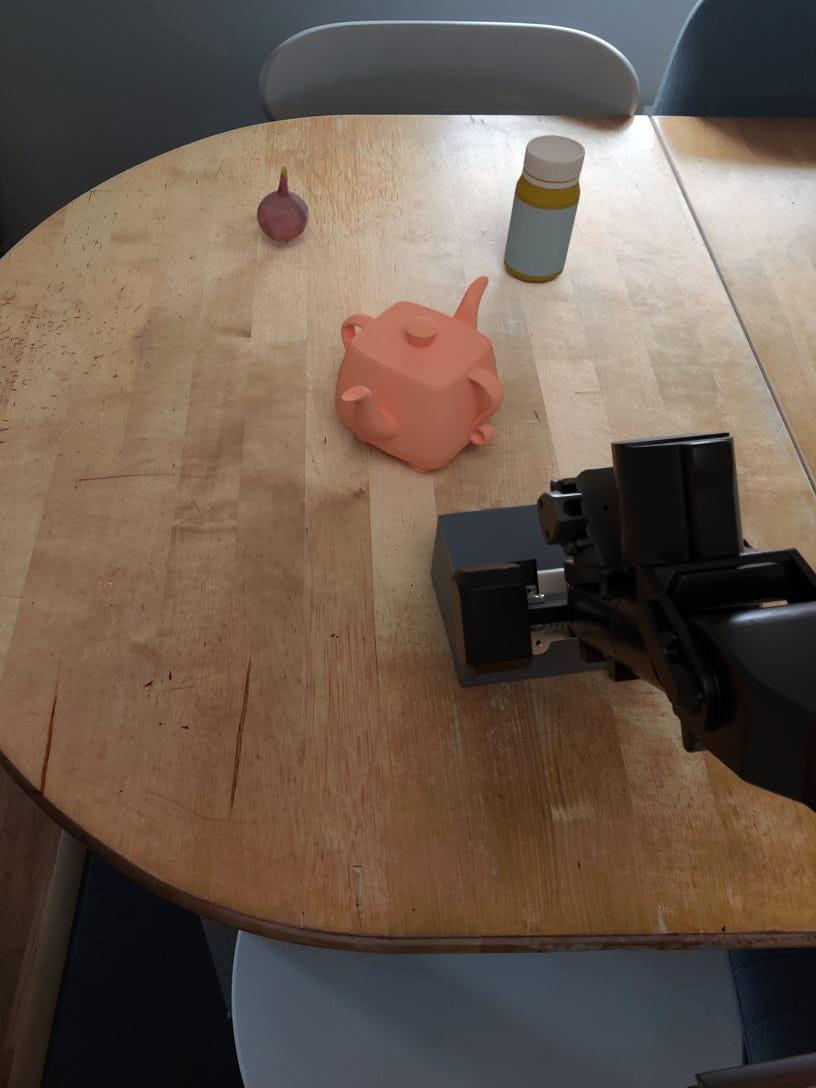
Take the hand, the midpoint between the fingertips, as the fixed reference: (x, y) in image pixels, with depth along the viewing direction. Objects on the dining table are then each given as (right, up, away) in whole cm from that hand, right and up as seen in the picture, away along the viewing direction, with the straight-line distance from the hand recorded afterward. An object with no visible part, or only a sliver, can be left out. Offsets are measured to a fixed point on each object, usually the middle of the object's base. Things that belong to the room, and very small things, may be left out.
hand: (558, 582), depth 62 cm
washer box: (0, -4, +8) cm, 9 cm away
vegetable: (-22, +34, +46) cm, 61 cm away
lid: (0, 0, +3) cm, 3 cm away
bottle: (+8, +31, +42) cm, 53 cm away
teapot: (-8, +11, +23) cm, 27 cm away
